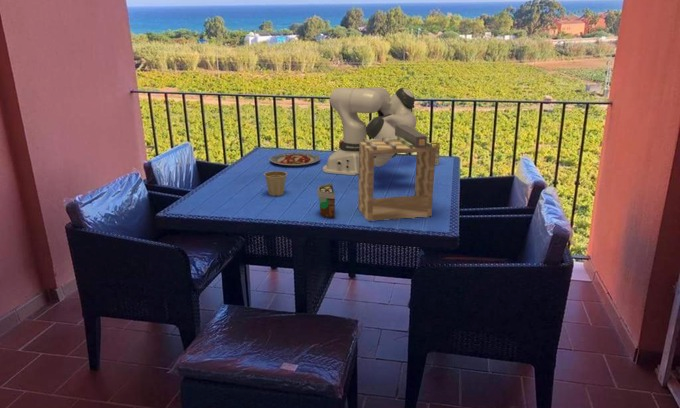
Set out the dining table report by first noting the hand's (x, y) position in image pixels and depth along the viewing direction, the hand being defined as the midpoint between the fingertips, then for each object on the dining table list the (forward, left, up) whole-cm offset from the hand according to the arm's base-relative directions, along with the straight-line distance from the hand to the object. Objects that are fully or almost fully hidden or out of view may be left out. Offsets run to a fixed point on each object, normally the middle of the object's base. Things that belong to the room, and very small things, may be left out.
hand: (394, 138), depth 208 cm
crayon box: (+18, +51, -24) cm, 59 cm away
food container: (-23, -28, -24) cm, 43 cm away
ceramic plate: (-51, +47, -24) cm, 74 cm away
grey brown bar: (+6, -17, +3) cm, 18 cm away
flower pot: (-47, -7, -24) cm, 53 cm away
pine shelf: (+2, -23, -23) cm, 33 cm away
